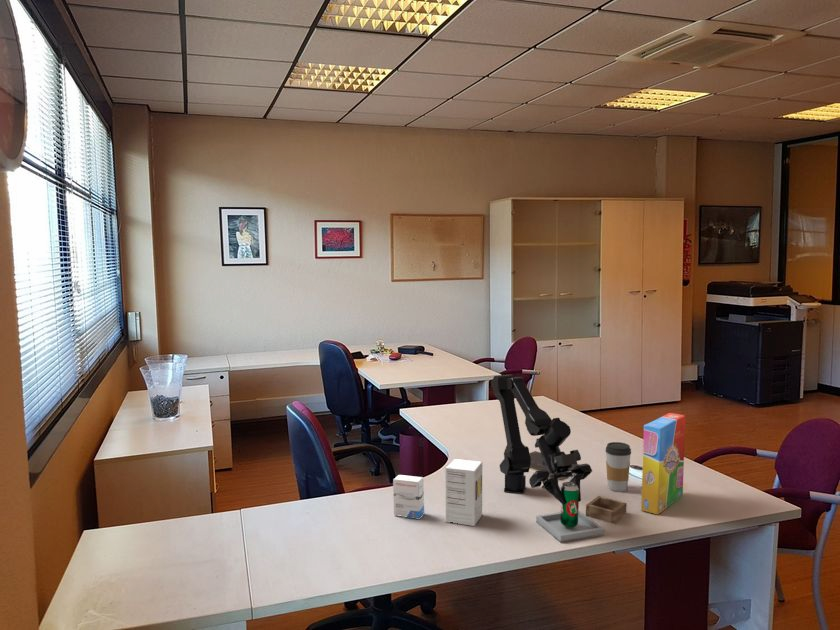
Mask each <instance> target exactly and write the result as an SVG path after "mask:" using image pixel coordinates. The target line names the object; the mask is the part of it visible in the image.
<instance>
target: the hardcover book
mask: <svg viewBox="0 0 840 630" xmlns="http://www.w3.org/2000/svg"><path fill="white" fill-rule="evenodd" d="M529 454H530V457H531V464H530V469H529V470H531V471H530V472H532V471H533V473H535V472H536V471H541V470H547V471H548V469H547V466H546V465H543V463H542V462H543V461H544V459H543V457H542V454H541V452H540V451H536V450H535V451H531V452H529ZM577 465H580V464H579V463H577V464H572V467H571V468H569V470H573V469H574V468H575V467H576V466H577ZM548 472H549V471H548ZM562 479H563V478H560V479H558V481H559V480H562Z"/></svg>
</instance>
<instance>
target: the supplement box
mask: <svg viewBox="0 0 840 630" xmlns="http://www.w3.org/2000/svg"><path fill="white" fill-rule="evenodd" d="M444 474H445V483H444V485H445V522H446V523H450V522H453V523H452V524H457V523H458V524H457V525H465V526H472V527H475V526H476V524H477V523H478V522H479V520H480V519H481V517H482V516H483V461H478V460H468V459H459V458H458V459H457V458H454V459H453V460H452V461H451V462H450V463H449V464H448V465H447V466H446V467H445V471H444ZM481 515H482V516H481Z"/></svg>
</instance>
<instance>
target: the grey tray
mask: <svg viewBox="0 0 840 630" xmlns="http://www.w3.org/2000/svg"><path fill="white" fill-rule="evenodd" d="M560 514H561V511H558V512H553V513H546V514H538V515H536V516H535V523H536V524H537V525H538V526H540V527H541V528H542V529H543V530H544V531H546V532H547V533H548V534H549V535H551V536H552V537H553V538H554V539H555V540H556V541H558V542H559V543H560V544H561V543H568V542H573V541H578V540H585V539H592V538H596V537H597V538H598V537H603V536H605V528H604V527H603V526H601V525H600V524H598V523H597V522H595V521H594V520H593V519H592V518H591V517H588V516H586V514H584V513H583V512H582V511H580V509H578V525H577V526H575V527H566V526H563V525H562V524H561V522H560Z"/></svg>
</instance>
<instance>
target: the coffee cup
mask: <svg viewBox="0 0 840 630" xmlns="http://www.w3.org/2000/svg"><path fill="white" fill-rule="evenodd" d="M631 454H632V448H631V446H630V445H629V444H628V443H626V442H620V441H618V442H617V441H611V442H608V443H607V445H606V447H605V457H606V461H605V463H606V479H607V480H606V482H607V487H608V489H609V490H610V491H613V492H618V493H619V492H626V491H627V489H628V482H629V477H630V465H631Z"/></svg>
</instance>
